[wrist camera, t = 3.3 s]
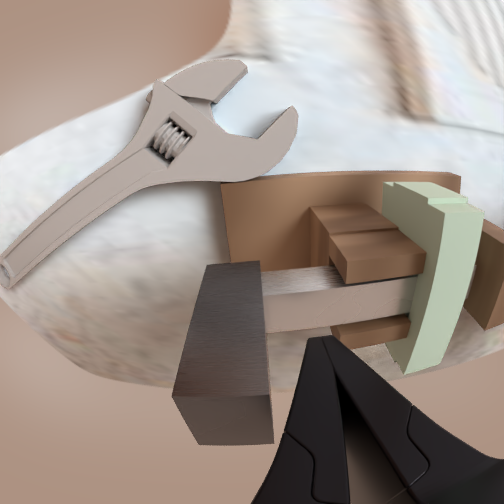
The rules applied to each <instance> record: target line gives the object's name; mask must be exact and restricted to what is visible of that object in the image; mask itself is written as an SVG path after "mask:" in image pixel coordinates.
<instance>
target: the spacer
mask: <svg viewBox="0 0 504 504" xmlns="http://www.w3.org/2000/svg"><path fill="white" fill-rule="evenodd" d="M467 202H468V198H467V197H465V196H463V195H461V194H458V193H456V192H454V191H451V190H449V189H446V188H444V187H442V186H439V185H437V184H434V183H432V182H383V198H382V215H383V216H384V217H386V218H387V219H388V220H390V221H391V222H392V223H394V224H395V225H396V226H398V227H399V230H400V231H401V232H402V233H404V234H405V235H406V236H407V237H409V238H410V239H411V240H412V241H414V242H415V243H416V244H417V245H418V246H420V247H421V248H422V249H423V250H425V251H426V252H427V254H426V260H425V265H424V270H423V273H421V274H418V278H417V283H416V288H415V292H414V297H413V301H412V305H411V309H410V312H408V313H405V314H406V316H407V317H408V319H409V320H410V322H411V325H410V329H409V332H408V335H407V338H404V339H399V340H395V341H390V342H386V343H385V344H386V346H387V348H388V350H389V352H390V354H391V356H392V358H393V360H394V362H397V363H398V364H399V366H400V368H401V370H402V372H403V374H404V375H406V374H409V373H413V372H416V371H419V370H423V369H426V368H429V367H432V366H435V365H438V364H440V362H441V360H442V358H443V356H444V353H445V351H446V349H447V346H448V344H449V342H450V339H451V337H452V334H453V332H454V329H455V326H456V324H457V321H458V318H459V315H460V312H461V309H462V307H463V303H464V300H465V297H466V294H467V291H468V287H469V284H470V280H471V277H472V273H473V269H474V265H475V261H476V256H477V252H478V247H479V242H480V237H481V231H482V226H483V219H484V211H482V210H480V209H478V208H476V207H474V206H472V205H470V204H468V203H467Z"/></svg>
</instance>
